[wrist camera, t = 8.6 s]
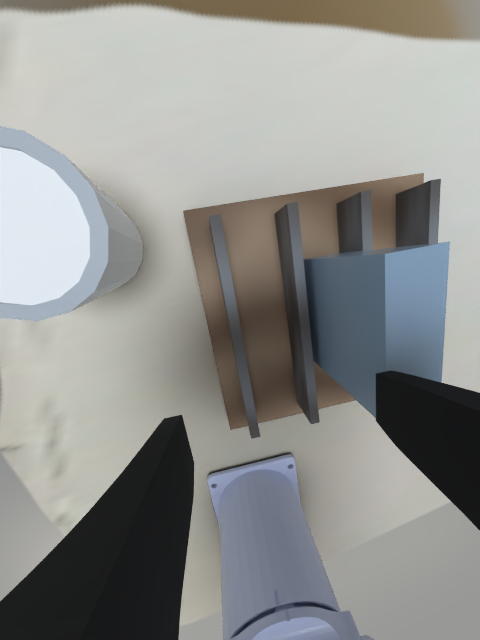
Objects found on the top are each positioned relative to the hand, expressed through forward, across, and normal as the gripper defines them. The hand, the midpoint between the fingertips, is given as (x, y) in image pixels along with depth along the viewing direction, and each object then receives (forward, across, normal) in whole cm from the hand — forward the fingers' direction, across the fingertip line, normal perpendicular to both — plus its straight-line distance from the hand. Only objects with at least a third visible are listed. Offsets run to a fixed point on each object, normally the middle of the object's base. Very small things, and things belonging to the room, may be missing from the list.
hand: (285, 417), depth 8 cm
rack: (+10, -5, -1) cm, 11 cm away
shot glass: (+10, +9, -8) cm, 16 cm away
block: (+8, -5, -2) cm, 10 cm away
